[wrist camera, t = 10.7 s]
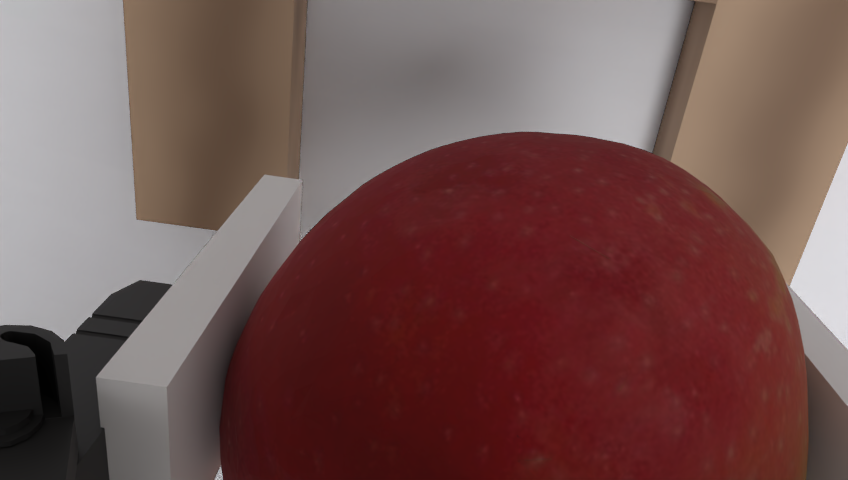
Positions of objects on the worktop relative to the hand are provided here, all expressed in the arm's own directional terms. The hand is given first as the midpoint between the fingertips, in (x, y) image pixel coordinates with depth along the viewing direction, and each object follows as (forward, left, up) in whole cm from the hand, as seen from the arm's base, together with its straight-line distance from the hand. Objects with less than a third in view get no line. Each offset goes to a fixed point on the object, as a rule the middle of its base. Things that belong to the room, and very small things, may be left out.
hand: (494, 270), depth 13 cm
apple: (0, 0, 0) cm, 0 cm away
